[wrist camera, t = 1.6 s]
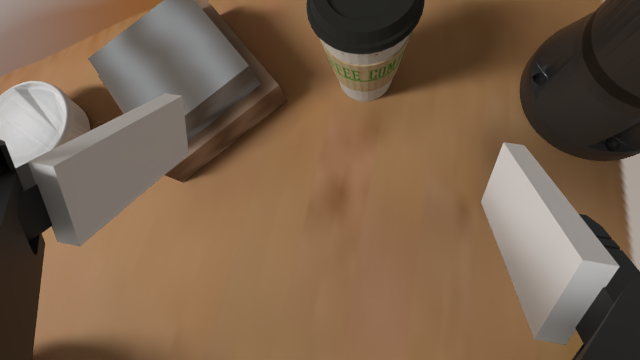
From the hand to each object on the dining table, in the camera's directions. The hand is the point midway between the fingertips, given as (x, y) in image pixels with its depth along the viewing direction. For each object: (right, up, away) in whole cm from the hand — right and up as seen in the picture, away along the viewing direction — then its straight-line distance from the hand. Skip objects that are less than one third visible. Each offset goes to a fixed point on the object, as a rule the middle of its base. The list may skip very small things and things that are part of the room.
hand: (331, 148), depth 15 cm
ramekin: (-34, +4, +32) cm, 47 cm away
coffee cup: (+5, +11, +28) cm, 30 cm away
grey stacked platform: (-16, +9, +30) cm, 35 cm away
